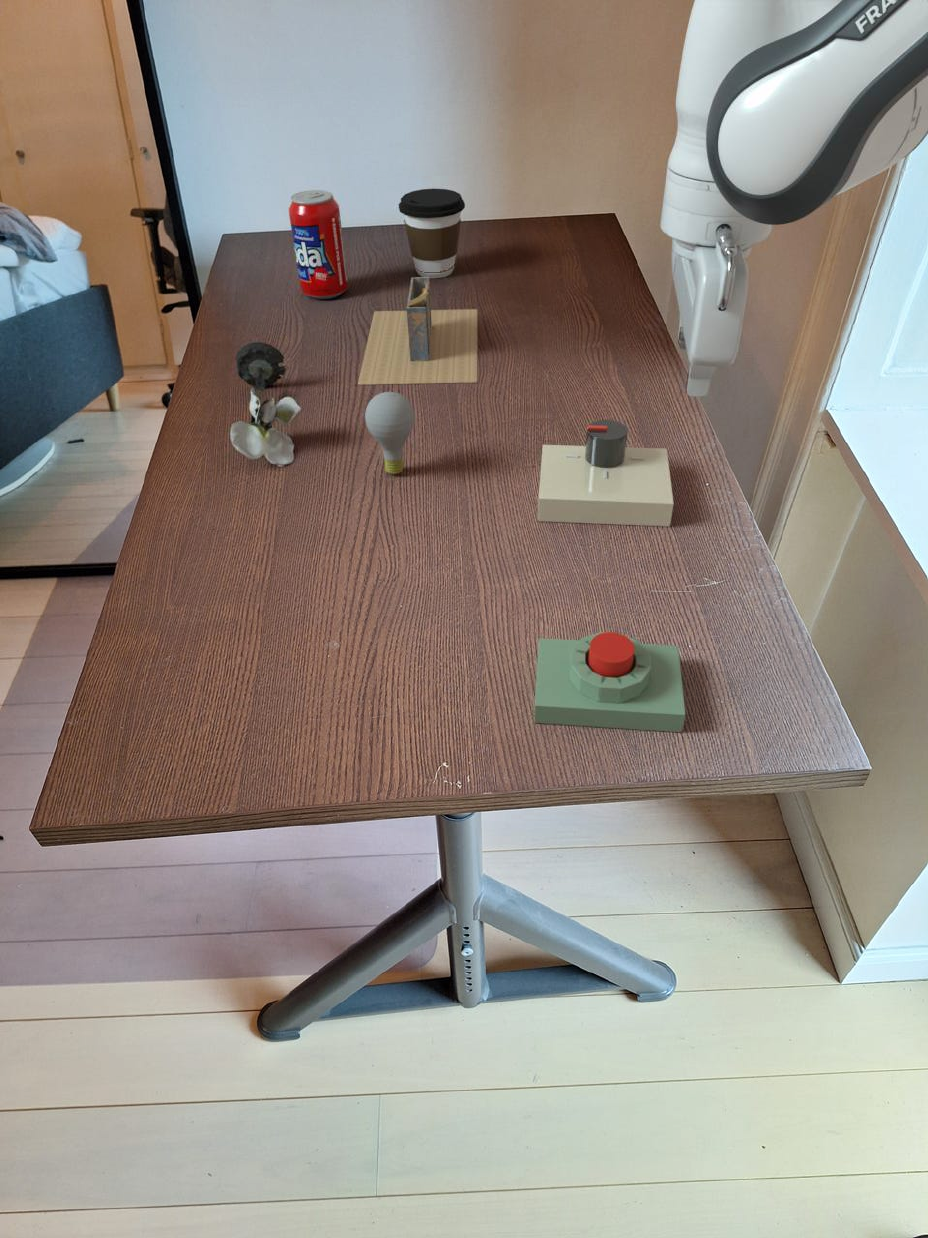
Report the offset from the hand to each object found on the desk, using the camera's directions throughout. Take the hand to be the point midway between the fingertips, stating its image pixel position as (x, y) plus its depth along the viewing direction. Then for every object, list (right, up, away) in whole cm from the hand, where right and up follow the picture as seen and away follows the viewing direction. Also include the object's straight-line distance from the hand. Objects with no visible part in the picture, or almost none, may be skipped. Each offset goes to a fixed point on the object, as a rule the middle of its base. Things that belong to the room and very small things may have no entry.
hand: (691, 368), depth 78 cm
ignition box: (-9, -29, -5) cm, 31 cm away
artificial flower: (-46, +2, +31) cm, 55 cm away
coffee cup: (-26, +37, +69) cm, 83 cm away
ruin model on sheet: (-27, +17, +48) cm, 58 cm away
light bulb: (-29, -6, +22) cm, 37 cm away
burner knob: (-5, -5, +17) cm, 19 cm away
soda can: (-44, +31, +64) cm, 83 cm away
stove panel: (-5, -9, +17) cm, 20 cm away
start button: (-9, -26, -7) cm, 29 cm away
